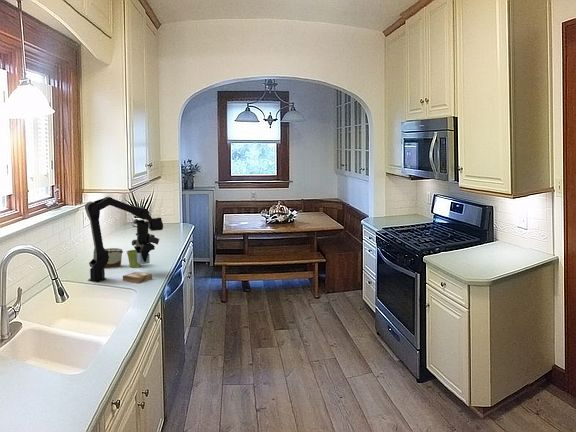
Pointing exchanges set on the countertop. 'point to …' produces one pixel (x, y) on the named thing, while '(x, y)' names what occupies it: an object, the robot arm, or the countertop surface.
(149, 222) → the robot arm
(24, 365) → the countertop surface
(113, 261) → the food container
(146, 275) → the base
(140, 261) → the block
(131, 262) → the plant pot
